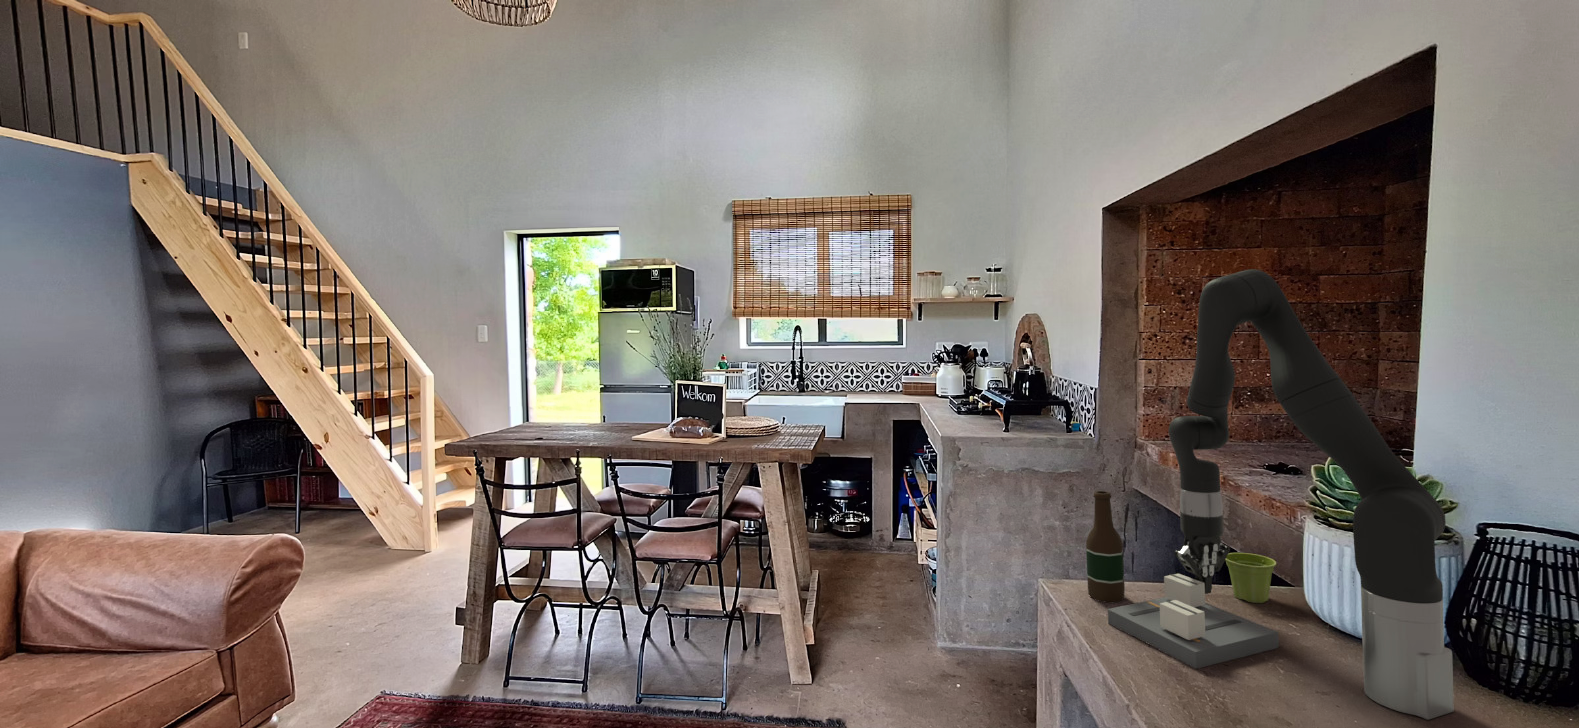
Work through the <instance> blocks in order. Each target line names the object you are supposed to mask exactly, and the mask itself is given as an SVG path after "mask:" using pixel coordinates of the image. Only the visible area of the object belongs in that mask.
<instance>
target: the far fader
mask: <svg viewBox="0 0 1579 728" xmlns="http://www.w3.org/2000/svg"><path fill="white" fill-rule="evenodd" d="M1163 583H1164V585H1163V586H1164V588H1163V589H1164V597H1165V598H1167V599H1170V600H1172V601H1173V600H1177V601H1180V602H1182V603H1184V604H1187V605H1189V606H1192V607H1198V606H1203V605H1205V603H1206V594H1205V583H1203V582H1200V581H1197V580H1195V578H1191V577H1189V576H1186V575H1183V574H1181V573H1175V574H1173V573H1171V574H1169V575H1165V576H1163Z"/></svg>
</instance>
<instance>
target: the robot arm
mask: <svg viewBox="0 0 1579 728" xmlns="http://www.w3.org/2000/svg"><path fill="white" fill-rule="evenodd" d="M1199 297H1200V298H1199V302H1198V311H1197V312H1198V317H1197V318H1198V319H1197V336H1196V355H1195V365H1194V370H1193V375H1192V378H1191V382H1190V385H1189V389H1188V392H1187V393H1188V394H1187V396H1186V397H1187V398H1186V406H1187V408H1188V409H1189V410H1190V411H1191V412H1192V413H1194V414H1196V415H1190V416H1187V415H1185V416H1177V417H1175V418H1174V419H1172V421H1171V422H1170V424H1169V426H1168V436H1169V440H1170V442H1171V446H1172V447H1173V450H1174V453H1175V456H1176V461H1177V463H1178V468H1179V476H1180V477H1179V478H1180V484H1179V485H1180V493H1179V514H1180V519H1179V521H1180V530H1181V532H1182V533H1183V535H1184V540H1183V542H1182V545H1183V546H1182V548H1181V549H1180V550H1179V549H1176V550H1175V551H1174V556H1175V557H1176V558H1177V560H1178V561H1179V562H1180V564H1181V565H1182V567H1183V568H1184V570H1185V571H1186V572H1189V573H1191V574H1193V575H1194V579H1195V580H1197V581H1200V582H1203V583H1205V595H1208V594H1211V593H1212V589H1213V576H1214V573H1215V572H1218V573H1219V572H1220V571H1221V568H1222V567H1223V565H1224V563H1225V562H1226V560H1225V559H1226V557H1227V555H1228V554H1229V553H1230V551H1231V547H1230V546H1229V545H1225V544H1224V543H1222V539H1221V536H1223V535H1224V512H1223V510H1224V509H1223V499H1222V492H1221V474H1220V473H1221V471H1220V467H1219V465H1218V464H1217V462H1214V461H1210V460H1207V459H1200V458H1197V457H1196V455H1195V453H1194V452H1195V451H1201V450H1219V449H1221V448H1223V447H1224V446H1225V445H1226V444H1227V443H1228V441H1229V439H1230V431H1229V420H1228V419H1229V418H1228V417H1229V416H1228V409H1229V408H1228V407H1229V404H1230V400H1231V396H1232V393H1233V389H1234V388H1235V387H1234V386H1235V380H1236V372H1235V368H1234V365H1233V362H1232V360H1231V357H1230V353H1229V345H1230V340H1231V338H1232V336H1233V334H1234V332H1235V330H1236V328H1237V326H1238V325H1241V324H1245V323H1249V322H1250V323H1251V324H1252V325H1253V326H1254V327H1255V329H1256V330H1257V332H1258V333H1259V335H1260V336H1261V338H1262V339H1263V341H1264V343H1265V344H1266V347H1267V349H1268V352H1269V353H1268V354H1269V360H1270V381H1271V387H1272V391H1273V395H1274V396H1275V398H1276V400H1277V402H1278V403H1279V404H1280V406H1281V407H1282V409H1283V410H1284V412H1285V413H1286V414H1287V416H1288V417H1289V419H1290V420H1291V421H1292V423H1293V424H1294V425H1295V427H1297V429H1298V430H1299V431H1300V432H1301V433H1302V434H1303V436H1305V437H1306V438H1307V439H1308V440H1309V441H1311V443H1313V444H1314V445H1315V446H1317V448H1318V449H1320V450H1321V451H1322V452H1323V453H1325V454H1326V455H1327V456H1328V457H1329V458H1330V459H1331V460H1333V461H1334V462H1335V464H1336V465H1338V466H1339V467H1340V468H1341V470H1342V471H1343V473H1344V474H1345V475H1346V477H1348V479H1349V481H1350V483H1351V485H1352V486H1353V487H1354V489H1355V490H1356V492H1357V493H1358V495H1359V497H1360V499H1361V500H1360V501H1359V502H1358V503H1357V505H1356V507H1355V509H1354V511H1353V515H1352V533H1353V535H1352V536H1353V537H1352V538H1353V547H1354V548H1353V549H1354V560H1355V567H1356V569H1357V572H1358V574H1359V577H1360V598H1361V600H1360V601H1361V602H1360V604H1361V606H1360V608H1361V637H1362V667H1363V679H1362V680H1363V690H1364V693H1365V695H1366V696H1367V697H1368V699H1369V698H1370V699H1371V700H1372V701H1374V702H1375V703H1377V704H1379V705H1381V706H1384V707H1386V708H1389V709H1391V710H1394V711H1396V712H1400V713H1404V714H1408V715H1412V716H1413V715H1414V716H1416V717H1417V716H1418V717H1420V718H1423V720H1431V719H1434V718H1437V717H1438V718H1439V717H1440V716H1444V715H1447V714H1450V713H1453V712H1454V711H1455V707H1454V706H1455V705H1454V703H1455V702H1454V675H1453V674H1454V673H1453V672H1454V671H1453V670H1454V669H1453V668H1454V667H1453V651H1452V649H1450V648H1448V647H1446V646H1445V641H1444V640H1445V637H1444V636H1445V635H1444V634H1445V632H1444V593H1443V591H1444V589H1443V587H1444V586H1443V583H1442V581H1441V579H1440V578H1439V577H1438V574H1437V567H1436V550H1435V549H1436V548H1435V547H1436V545H1435V541H1436V540H1437V539H1438V538H1440V536H1441V535H1442V534H1443V532H1444V531H1445V528H1446V523H1447V522H1446V514H1445V512H1444V510H1443V508H1442V507H1441V504H1440V503H1439V502H1438V501H1437V499H1436V498H1435V497H1433V495H1432V494H1431V493H1430V492H1429V491H1428V490H1427V488H1425V487H1424V485H1423V484H1422V483H1421V482H1420V481H1419V480H1418V479H1417V478H1416V477H1415V476H1414V475H1413V474H1412V473H1411V471H1409V469H1408V468H1407V466H1405V464H1403V463H1402V462H1401V460H1400V459H1399V458H1398V457H1397V456H1396V454H1395V453H1394V452H1393V451H1392V449H1391V448H1390V447H1389V445H1388V443H1386V441H1385V439H1384V438H1383V436H1382V434H1381V432H1379V430H1378V428H1377V426H1376V425H1375V424H1374V423H1373V421H1372V420H1371V419H1370V417H1369V416H1368V415H1367V413H1366V411H1365V410H1364V409H1363V407H1362V406H1361V404H1360V403H1359V402H1358V400H1357V399H1356V397H1355V395H1354V394H1353V393H1352V391H1351V390H1350V388H1348V386H1347V384H1346V383H1345V382H1344V381H1343V379H1342V378H1341V377H1340V375H1339V374H1338V373H1337V372H1336V371H1335V369H1334V368H1333V367H1332V366H1331V365H1330V363H1329V362H1328V361H1327V359H1326V358H1325V356H1324V354H1322V352H1321V351H1320V349H1319V348H1318V347H1317V345H1316V344H1315V342H1314V341H1313V339H1312V338H1311V336H1310V335H1309V333H1308V332H1307V331H1306V329H1305V328H1304V326H1303V324H1302V323H1301V321H1300V320H1299V318H1298V316H1297V314H1296V312H1295V311H1294V309H1293V307H1292V306H1291V304H1290V302H1289V300H1288V299H1287V297H1286V295H1285V293H1284V292H1283V290H1282V289H1281V287H1280V285H1279V284H1278V283H1277V281H1276V280H1275V279H1274V278H1273V277H1272V276H1270V274H1268V273H1267V272H1265V271H1263V270H1261V269H1253V268H1251V269H1245V270H1242V271H1238V272H1235V273H1231V274H1227V275H1223V276H1220V277H1216V278H1214V279H1212V280H1210V281H1209V282H1208V283H1206V284H1205V285H1204V287H1203V288H1202V291H1201V293H1200V296H1199Z"/></svg>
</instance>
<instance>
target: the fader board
mask: <svg viewBox="0 0 1579 728" xmlns="http://www.w3.org/2000/svg"><path fill="white" fill-rule="evenodd" d="M1166 601H1172V600H1170V599H1167V598H1165V596H1164V597H1161V598H1155V599H1150V600H1146V601H1139V602H1136V603H1132V604H1125V605H1121V606H1116V607H1112V608H1108V609H1107V623H1108V625H1110V624H1111V626H1112V627H1115V628H1116V627H1117V628H1116V629H1118V630H1120V629H1121V630H1120V631H1122V632H1124V633H1126V634H1128V633H1129V634H1128V635H1130V636H1132V635H1133V636H1135V637H1137V638H1139V639H1141V640H1143V641H1145V642H1147V643H1149V644H1151V645H1153V646H1154V647H1153V646H1152V647H1153V648H1155V647H1156V648H1155V649H1157V648H1158V649H1157V650H1159V649H1160V650H1159V651H1161V652H1162V651H1163V652H1162V653H1164V652H1166V653H1167V654H1166V653H1165V654H1166V655H1168V654H1169V655H1168V656H1170V655H1171V657H1172V656H1173V657H1172V658H1174V657H1175V658H1174V659H1176V658H1178V659H1179V660H1178V659H1177V660H1178V661H1180V660H1181V661H1180V662H1182V663H1184V662H1185V663H1184V664H1185V665H1188V666H1189V665H1190V667H1192V668H1194V669H1195V670H1197V669H1201V668H1204V667H1209V666H1213V665H1216V664H1221V663H1224V662H1228V661H1232V660H1236V659H1239V658H1244V657H1248V656H1251V655H1257V654H1260V653H1265V652H1267V651H1268V652H1269V651H1272V650H1275V649H1276V650H1277V649H1279V647H1280V646H1279V645H1280V644H1279V631H1278V630H1275V629H1272V628H1270V627H1267V626H1264V625H1262V624H1260V623H1258V622H1255V621H1252V620H1249V619H1247V618H1244V617H1242V616H1239V615H1236V614H1235V613H1232V612H1229V611H1227V610H1224V609H1222V608H1219V607H1217V606H1215V605H1212V604H1209V603H1207V602H1205V605H1203V606H1198V607H1194V608H1196V609H1199V610H1201V611H1204V613H1205V636H1204V637H1199V638H1195V639H1191V640H1187V639H1185V638H1183V637H1181V636H1179V635H1177V634H1175V633H1173V632H1171V631H1168V630H1166V629H1164V628H1162V627H1160V603H1164V602H1166ZM1133 636H1132V637H1133ZM1135 637H1134V638H1135ZM1137 638H1136V639H1137ZM1139 639H1138V640H1139ZM1141 640H1140V641H1141ZM1143 641H1142V642H1143ZM1145 642H1144V643H1145ZM1147 643H1146V644H1147ZM1149 644H1148V645H1149ZM1151 645H1150V646H1151Z"/></svg>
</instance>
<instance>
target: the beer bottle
mask: <svg viewBox="0 0 1579 728" xmlns="http://www.w3.org/2000/svg"><path fill="white" fill-rule="evenodd" d="M1092 497H1093V498H1094V516H1093V517H1094V520H1093V526H1092V528H1091V530H1090V532H1089V533H1088V535H1087V538H1086V542H1085V543H1086V545H1085V547H1086V548H1085V549H1086V550H1085V551H1086V552H1085V553H1086V555H1085V556H1086V573H1087V575H1086V576H1087V577H1086V578H1087V591H1088V592H1087V593H1088V596H1089V595H1090V596H1091V597H1090V596H1089V597H1090V598H1092V597H1093V598H1092V599H1094V600H1095V599H1096V600H1095V601H1097V600H1099V601H1098V602H1102V601H1105V602H1104V603H1108V602H1115V603H1120V602H1123V600H1124V598H1125V589H1126V588H1125V566H1124V563H1125V562H1124V547H1123V541H1122V537H1121V536H1120V533H1119V532H1118V531H1117V530H1116V528H1115V527H1114V526H1115V525H1114V522H1113V514H1112V505H1111V498H1112V494H1111V492H1110V491H1109V492H1108V491H1105V490H1097V491H1094V494H1093V496H1092Z"/></svg>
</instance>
